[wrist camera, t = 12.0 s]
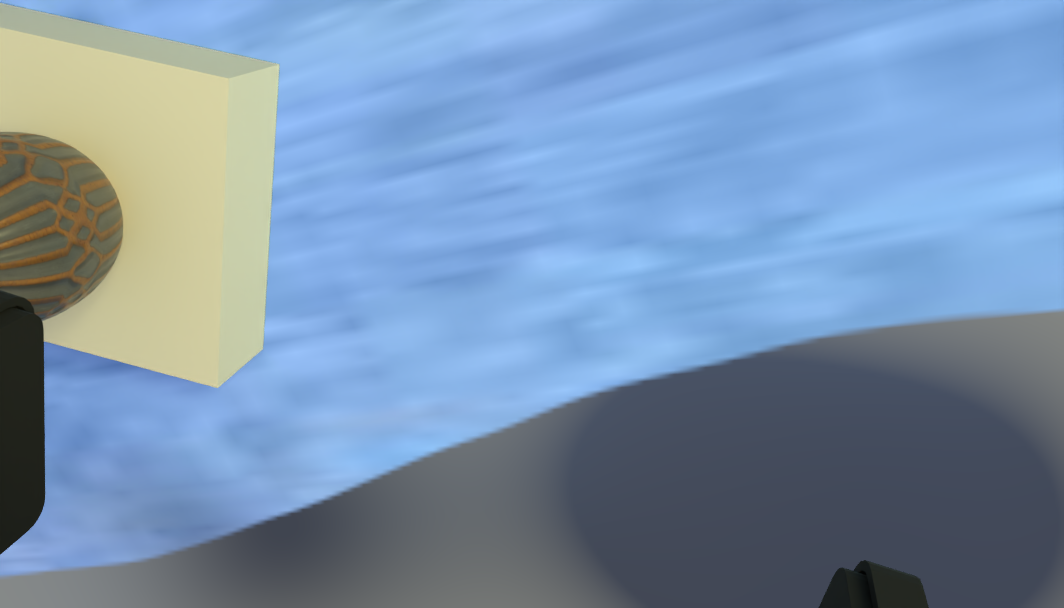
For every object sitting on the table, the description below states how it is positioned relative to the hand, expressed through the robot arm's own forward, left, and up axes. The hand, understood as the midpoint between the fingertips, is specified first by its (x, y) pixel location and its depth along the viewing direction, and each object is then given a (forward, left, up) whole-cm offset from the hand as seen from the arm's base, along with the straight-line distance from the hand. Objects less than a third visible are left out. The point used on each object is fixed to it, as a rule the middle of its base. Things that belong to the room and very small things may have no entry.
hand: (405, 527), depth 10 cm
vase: (+8, -21, -23) cm, 32 cm away
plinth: (+8, -21, -27) cm, 35 cm away
